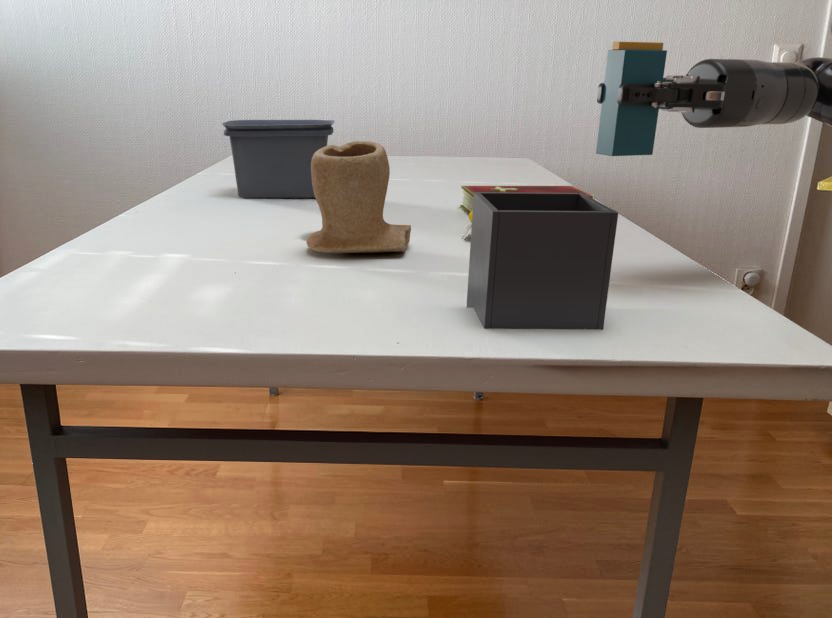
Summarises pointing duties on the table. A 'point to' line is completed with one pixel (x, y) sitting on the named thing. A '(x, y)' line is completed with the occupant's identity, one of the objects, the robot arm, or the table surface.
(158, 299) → the table surface
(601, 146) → the block
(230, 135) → the storage bin
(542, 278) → the trash bin
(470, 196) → the hardcover book
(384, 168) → the stone cup
